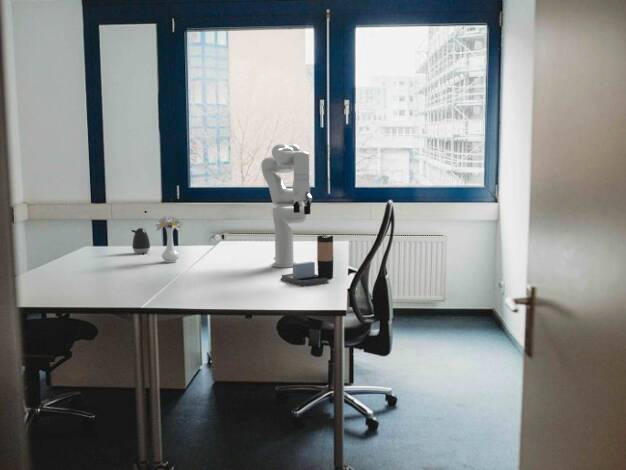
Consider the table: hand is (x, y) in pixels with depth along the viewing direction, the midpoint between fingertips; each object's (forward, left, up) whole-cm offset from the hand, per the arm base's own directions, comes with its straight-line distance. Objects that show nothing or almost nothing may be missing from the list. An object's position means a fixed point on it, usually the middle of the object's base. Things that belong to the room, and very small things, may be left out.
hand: (301, 213), depth 329 cm
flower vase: (-75, -39, -31) cm, 90 cm away
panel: (+13, -7, -30) cm, 33 cm away
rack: (+13, -7, -30) cm, 34 cm away
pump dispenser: (-112, -43, -31) cm, 124 cm away
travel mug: (+11, +6, -31) cm, 33 cm away
